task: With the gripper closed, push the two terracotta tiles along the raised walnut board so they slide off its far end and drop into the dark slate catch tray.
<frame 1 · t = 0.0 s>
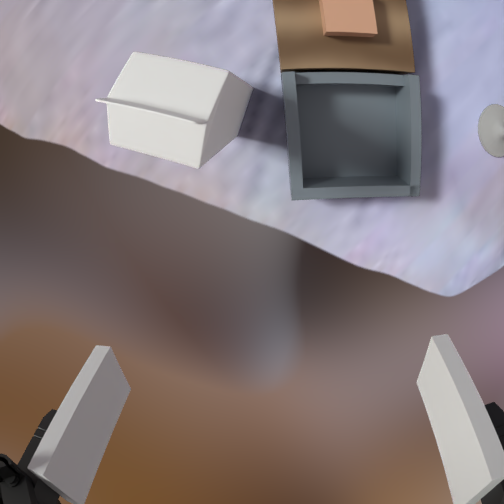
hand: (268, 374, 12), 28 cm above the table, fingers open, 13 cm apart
wineglass: (496, 130, 31), on the table
milk: (220, 104, 33), on the table
tile 1: (345, 14, 24), point 4 cm above the table, touching board
catch tray: (347, 130, 33), on the table
board: (335, 0, 27), on the table
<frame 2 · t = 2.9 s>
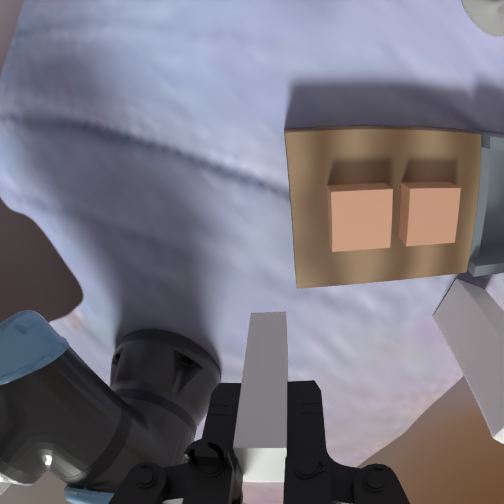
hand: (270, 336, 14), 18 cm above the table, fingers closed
tile 2: (356, 212, 26), point 4 cm above the table, touching board
wineglass: (485, 6, 19), on the table
milk: (458, 302, 34), on the table
tile 1: (425, 209, 25), point 4 cm above the table, touching board
catch tray: (503, 195, 28), on the table
board: (381, 197, 29), on the table
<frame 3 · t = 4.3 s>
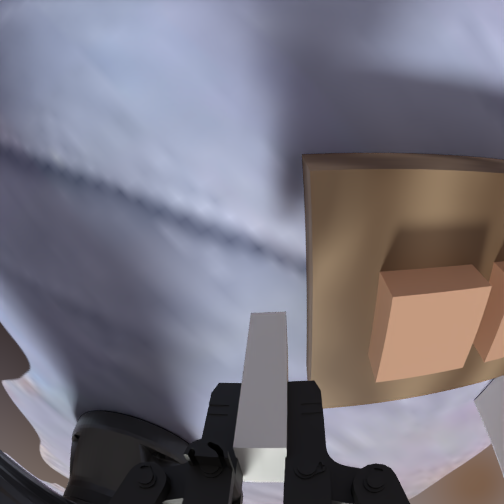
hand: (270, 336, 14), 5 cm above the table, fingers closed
tile 2: (420, 312, 14), point 4 cm above the table, touching board
board: (446, 268, 17), on the table
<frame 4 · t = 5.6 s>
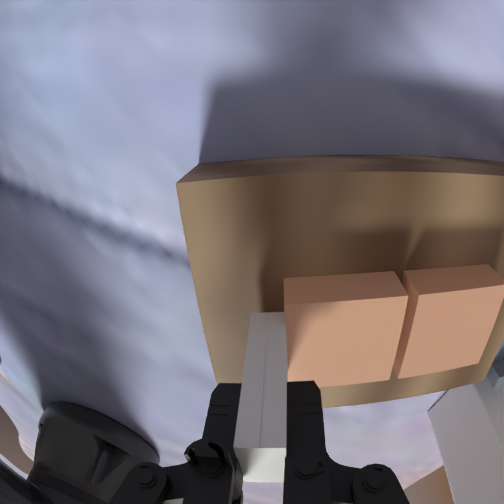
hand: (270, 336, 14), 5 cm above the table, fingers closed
tile 2: (338, 320, 15), point 4 cm above the table, touching gripper
milk: (464, 392, 23), on the table
tile 1: (439, 310, 14), point 4 cm above the table, touching board
board: (368, 275, 18), on the table
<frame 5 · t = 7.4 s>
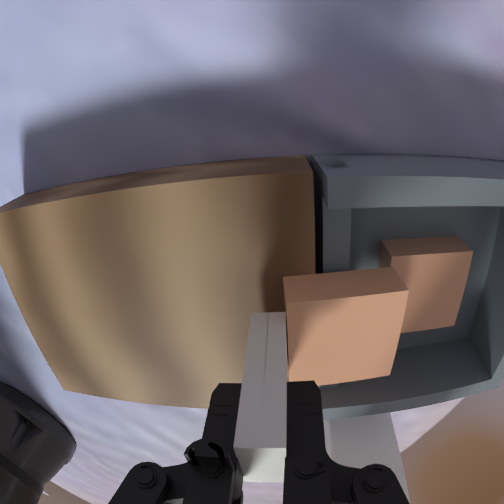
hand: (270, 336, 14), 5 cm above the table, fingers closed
tile 2: (337, 317, 15), point 4 cm above the table, touching gripper
milk: (340, 413, 24), on the table
tile 1: (427, 295, 16), point 3 cm above the table, tilted 180°, touching catch tray
catch tray: (418, 270, 18), on the table
board: (159, 283, 19), on the table
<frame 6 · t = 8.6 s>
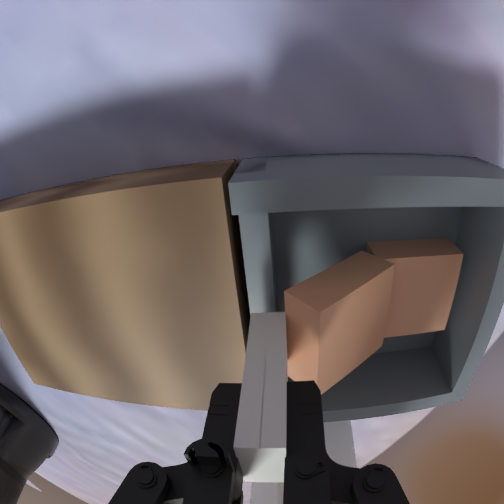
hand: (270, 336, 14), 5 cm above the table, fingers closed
tile 2: (325, 314, 15), point 3 cm above the table, tilted 40°, touching gripper, tile 1
milk: (301, 418, 25), on the table
tile 1: (415, 298, 15), point 3 cm above the table, tilted 180°, touching catch tray, tile 2
catch tray: (367, 275, 18), on the table
board: (111, 285, 20), on the table
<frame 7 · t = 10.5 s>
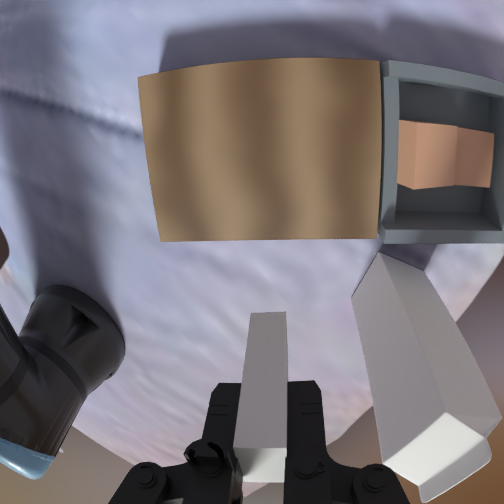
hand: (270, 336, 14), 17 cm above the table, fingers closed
tile 2: (420, 151, 23), point 3 cm above the table, tilted 23°, touching catch tray, tile 1
milk: (387, 284, 31), on the table
tile 1: (471, 158, 22), point 3 cm above the table, tilted 180°, touching catch tray, tile 2
catch tray: (439, 149, 24), on the table
board: (264, 145, 26), on the table
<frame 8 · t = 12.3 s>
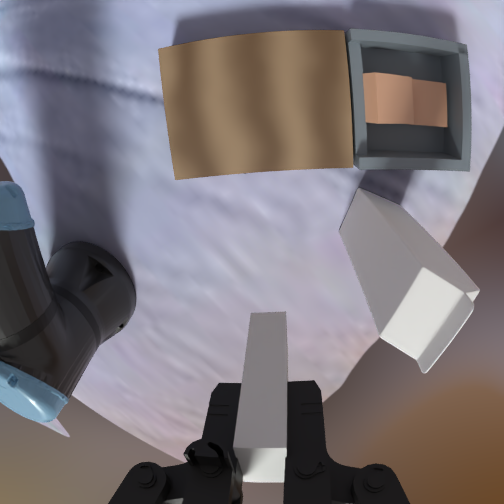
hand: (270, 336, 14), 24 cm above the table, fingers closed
tile 2: (383, 98, 28), point 3 cm above the table, tilted 23°, touching catch tray, tile 1
milk: (369, 217, 37), on the table
tile 1: (427, 103, 27), point 3 cm above the table, tilted 180°, touching catch tray, tile 2
catch tray: (401, 100, 30), on the table
board: (258, 101, 32), on the table
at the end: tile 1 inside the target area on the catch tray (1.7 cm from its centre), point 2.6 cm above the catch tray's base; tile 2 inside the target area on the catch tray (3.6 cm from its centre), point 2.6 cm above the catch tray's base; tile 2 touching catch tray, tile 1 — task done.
